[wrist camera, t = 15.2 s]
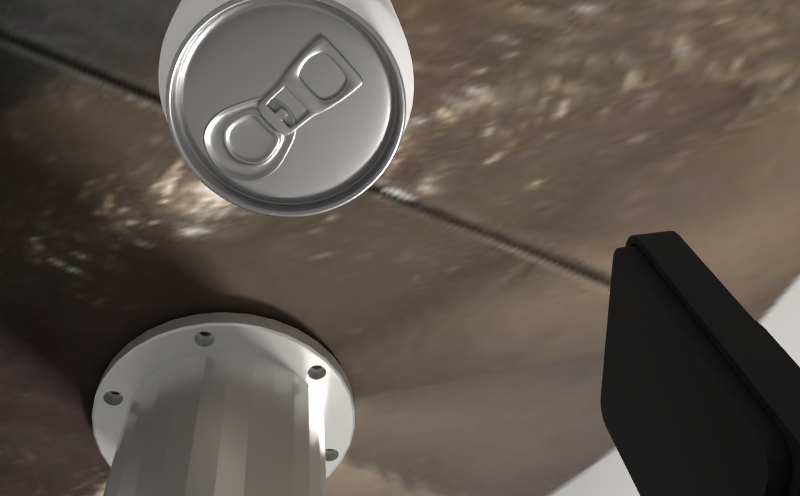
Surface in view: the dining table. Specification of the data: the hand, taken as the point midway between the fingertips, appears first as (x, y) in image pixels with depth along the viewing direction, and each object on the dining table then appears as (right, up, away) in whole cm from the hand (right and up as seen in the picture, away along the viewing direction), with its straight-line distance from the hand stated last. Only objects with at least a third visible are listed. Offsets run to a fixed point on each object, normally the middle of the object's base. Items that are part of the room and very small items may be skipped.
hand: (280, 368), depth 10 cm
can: (-2, +11, +18) cm, 21 cm away
